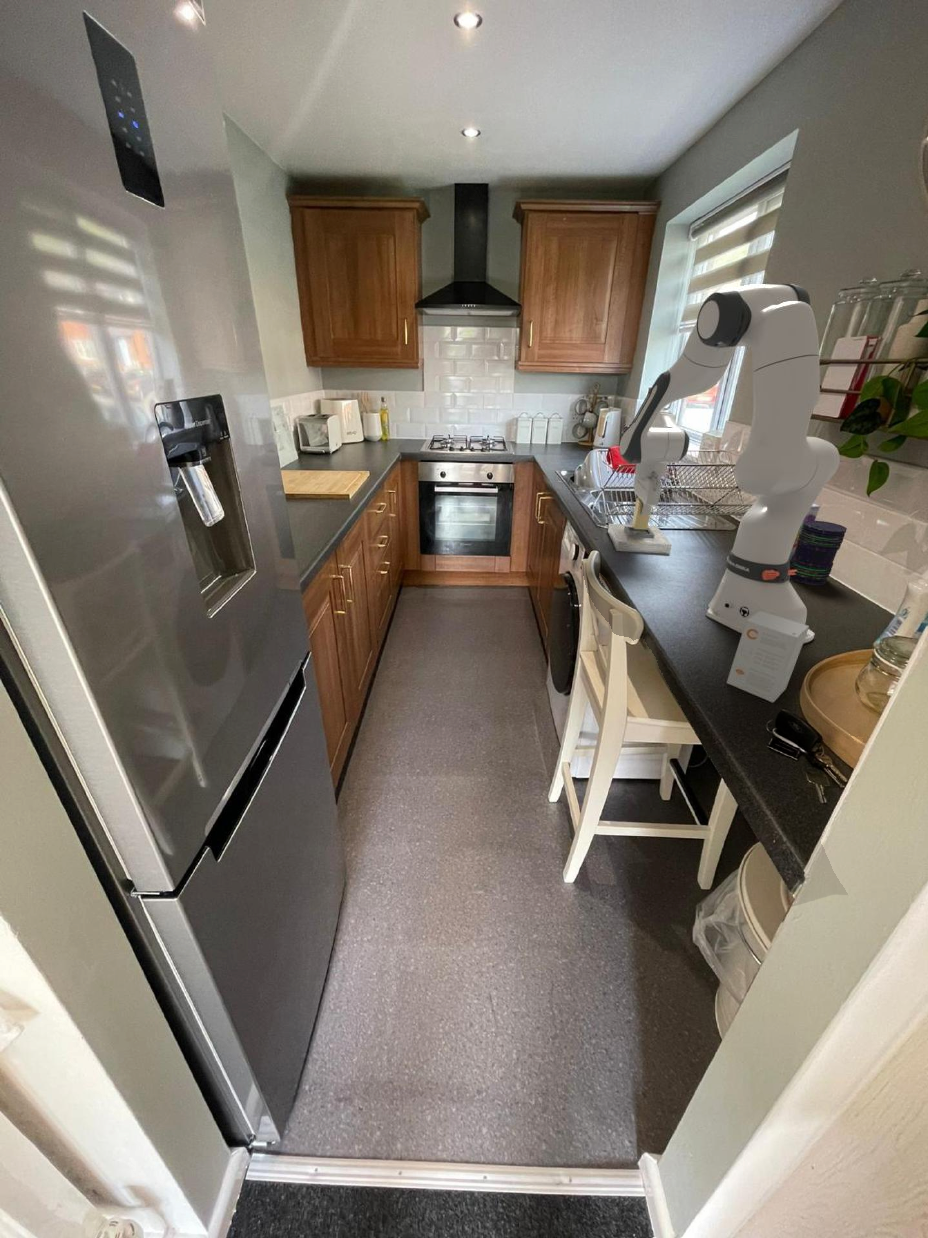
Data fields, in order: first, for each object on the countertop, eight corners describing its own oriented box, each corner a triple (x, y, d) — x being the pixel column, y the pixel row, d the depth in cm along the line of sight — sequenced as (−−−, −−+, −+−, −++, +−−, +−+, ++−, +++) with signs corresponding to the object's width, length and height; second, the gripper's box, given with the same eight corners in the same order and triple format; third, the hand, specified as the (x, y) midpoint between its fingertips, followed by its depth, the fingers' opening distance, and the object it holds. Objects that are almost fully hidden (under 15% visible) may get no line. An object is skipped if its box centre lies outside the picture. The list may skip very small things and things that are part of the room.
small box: (785, 689, 88) (811, 625, 82) (773, 704, 84) (798, 637, 78) (739, 670, 94) (759, 609, 88) (725, 683, 90) (745, 619, 84)
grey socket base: (669, 554, 152) (672, 541, 150) (616, 550, 154) (618, 538, 152) (655, 534, 170) (657, 523, 168) (607, 531, 171) (609, 520, 170)
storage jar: (802, 569, 143) (820, 519, 136) (835, 582, 135) (856, 529, 128) (777, 573, 140) (794, 521, 133) (809, 586, 132) (829, 532, 125)
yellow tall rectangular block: (646, 529, 158) (652, 501, 153) (634, 528, 158) (639, 500, 154) (644, 526, 161) (649, 498, 157) (631, 525, 161) (637, 497, 157)
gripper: (669, 476, 142) (659, 523, 148) (654, 463, 160) (645, 506, 166) (647, 475, 142) (638, 521, 148) (634, 462, 160) (626, 505, 167)
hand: (642, 513), depth 157 cm, fingers closed on yellow tall rectangular block, 4 cm apart
